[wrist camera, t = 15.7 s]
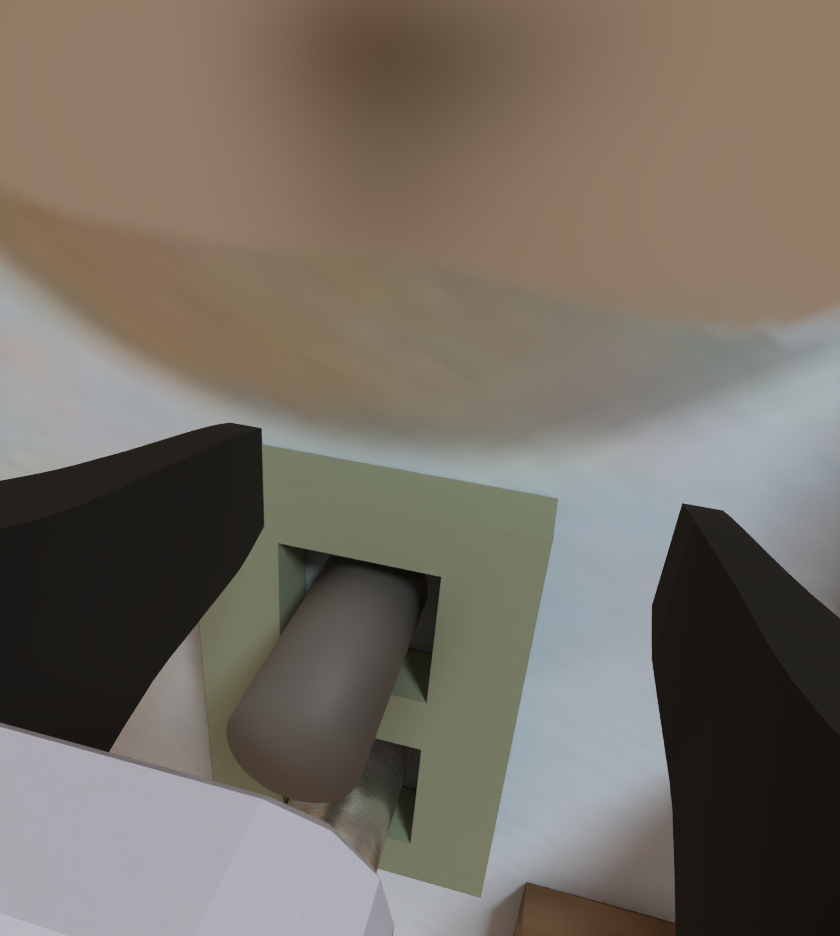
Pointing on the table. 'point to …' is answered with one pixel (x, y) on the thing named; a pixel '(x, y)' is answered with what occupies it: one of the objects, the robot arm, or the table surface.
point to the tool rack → (379, 649)
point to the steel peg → (367, 801)
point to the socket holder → (581, 917)
